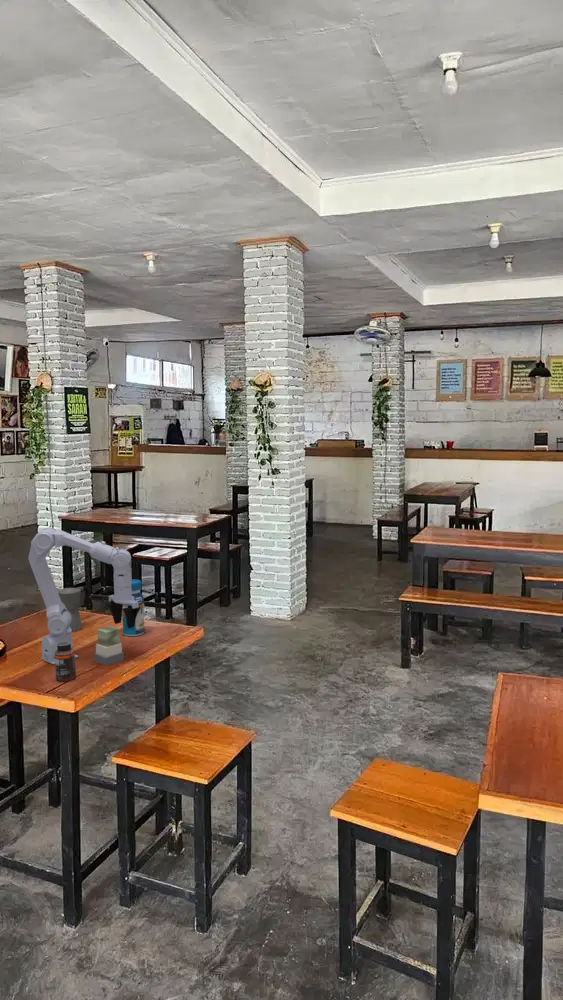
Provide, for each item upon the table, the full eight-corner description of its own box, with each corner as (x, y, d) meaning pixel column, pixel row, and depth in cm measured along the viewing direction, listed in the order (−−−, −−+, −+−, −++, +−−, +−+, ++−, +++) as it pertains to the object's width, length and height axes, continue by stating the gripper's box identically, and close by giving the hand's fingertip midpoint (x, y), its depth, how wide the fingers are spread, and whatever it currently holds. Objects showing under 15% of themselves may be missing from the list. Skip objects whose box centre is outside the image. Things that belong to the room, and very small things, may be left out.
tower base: (105, 666, 229) (105, 658, 229) (94, 661, 234) (93, 653, 234) (124, 661, 234) (123, 652, 234) (112, 656, 239) (112, 648, 239)
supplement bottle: (73, 673, 223) (72, 639, 221) (77, 679, 217) (76, 644, 216) (54, 677, 220) (52, 642, 218) (57, 683, 215) (56, 647, 213)
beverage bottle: (120, 631, 265) (118, 579, 263) (142, 628, 269) (140, 577, 266) (124, 638, 258) (122, 584, 255) (147, 635, 261) (145, 582, 259)
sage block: (107, 647, 230) (106, 632, 230) (98, 644, 234) (97, 629, 233) (119, 643, 234) (119, 628, 234) (110, 640, 237) (109, 626, 237)
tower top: (106, 656, 230) (106, 648, 230) (96, 653, 234) (95, 644, 234) (121, 652, 234) (121, 643, 234) (111, 648, 238) (110, 639, 238)
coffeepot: (59, 635, 262) (57, 588, 260) (48, 630, 269) (46, 584, 267) (97, 626, 272) (95, 581, 270) (85, 621, 279) (83, 577, 277)
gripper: (145, 587, 234) (146, 626, 236) (120, 580, 244) (122, 618, 246) (127, 591, 229) (129, 631, 231) (102, 584, 239) (104, 623, 241)
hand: (124, 625), depth 238 cm, fingers open, 7 cm apart
